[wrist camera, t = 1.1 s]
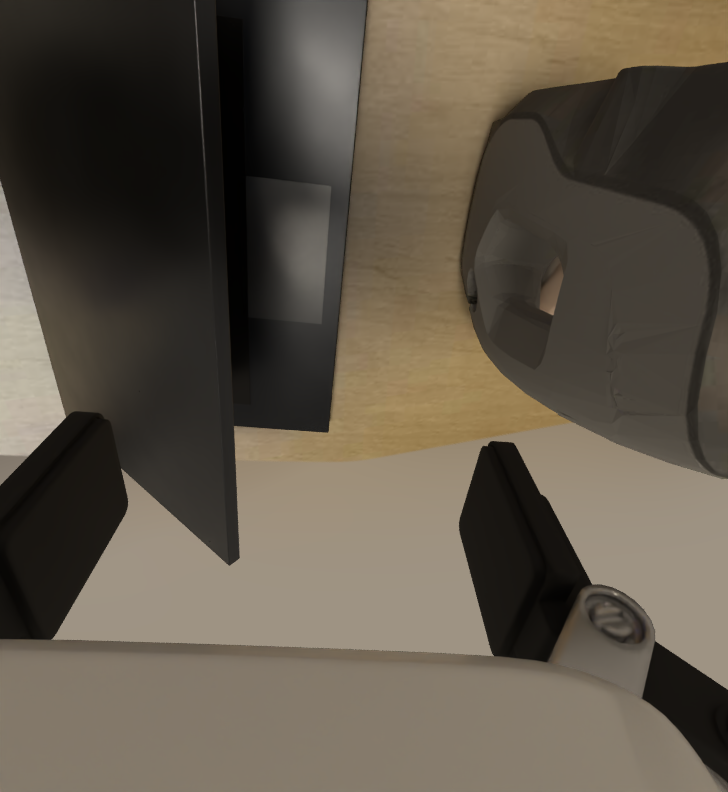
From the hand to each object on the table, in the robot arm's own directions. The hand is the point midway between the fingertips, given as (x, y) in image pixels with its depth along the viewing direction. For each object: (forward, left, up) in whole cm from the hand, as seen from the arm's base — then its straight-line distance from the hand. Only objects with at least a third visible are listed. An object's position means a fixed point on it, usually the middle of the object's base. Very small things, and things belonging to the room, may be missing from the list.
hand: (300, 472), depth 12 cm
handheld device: (-4, +13, -25) cm, 28 cm away
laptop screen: (+1, -12, -16) cm, 20 cm away
